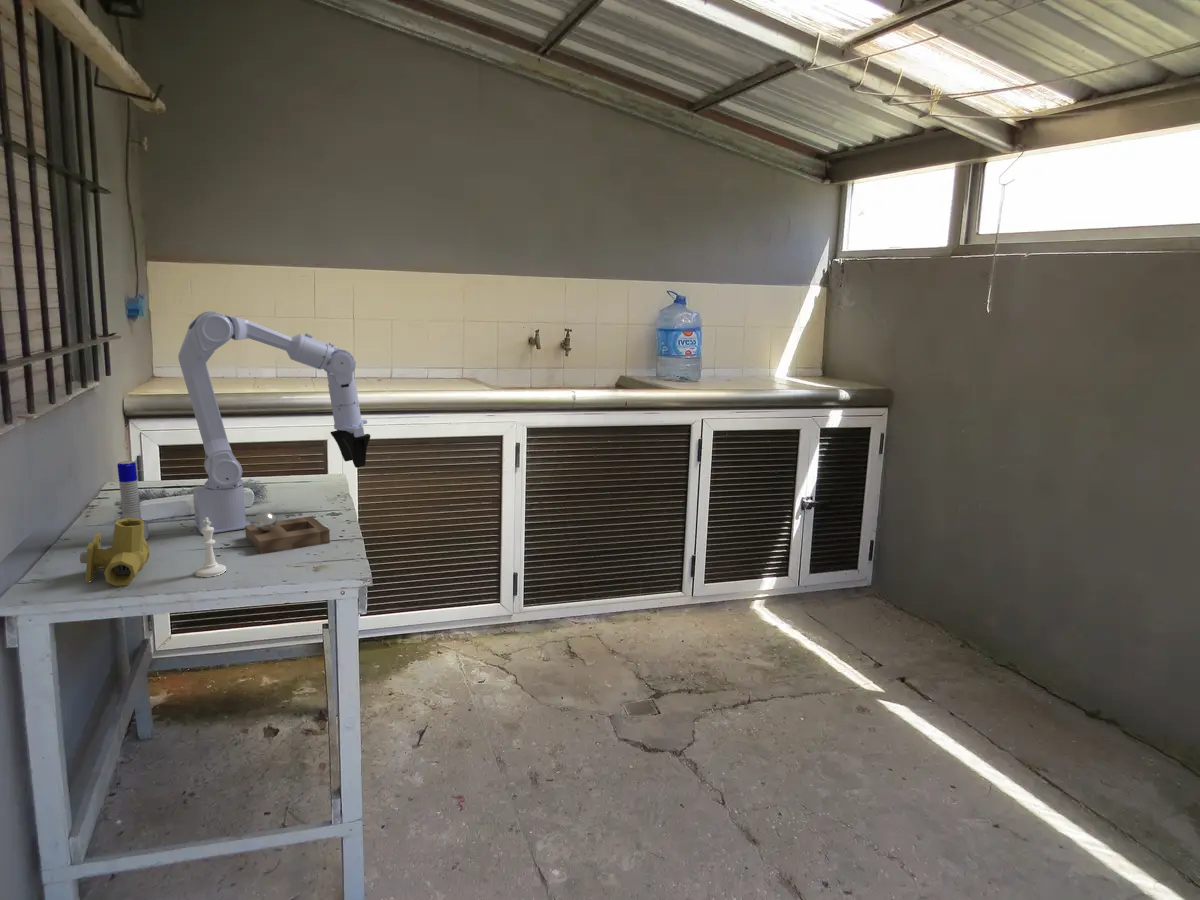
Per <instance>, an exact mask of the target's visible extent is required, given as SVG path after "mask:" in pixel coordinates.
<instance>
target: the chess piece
mask: <svg viewBox="0 0 1200 900" xmlns="http://www.w3.org/2000/svg"><path fill="white" fill-rule="evenodd" d="M203 523H204V524H205V526H206V527H204V528H202V529H201V531H202V533H203V534H202V535H203V537H204V540H203V541H202V542H201V544H202V545H204V546H205V560H204V563H203V564H202V566H200V567H198V568H196V570H195V575H196V574H197V575H198V576H204V577H207V578H210V577H209V576H215V577H217V576H216V575H219V576H221V575H220V574H222V573H224V572H225V571H226V570H227V567H226V566H225V565H224V564H220V563H218V562H217V561H216V558H215V554H214V548H213V544H215V543H216V540H215V539H213V535H214V533H213V531H214V528H213V527H209V525H210V524H211V522H210V521H209V518H208V517H206V518H205V520H204V521H203ZM226 572H227V571H226ZM224 574H225V573H224ZM222 575H223V574H222ZM198 576H197V577H198Z"/></svg>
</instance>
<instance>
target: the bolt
mask: <svg viewBox="0 0 1200 900" xmlns="http://www.w3.org/2000/svg"><path fill="white" fill-rule="evenodd" d="M137 473H138V472H137V464H136V461H134V460H124V461H123V460H122V461H119V462H118V463H117V475H118V484H119V485H118V486H119V493H120V495H119V496H120V500H121V501H120V502H121V504H120V505H121V511H122V513H121V514H122V519H125V518H134V519H140V520H142V511H141V505H140V503H141V501H140V495H139V494H140V492H139V490H138V489H139V485H138V484H139V483H138V482H139V481H138V474H137ZM143 538H144V539H145V541H147V540H148V539H149V527H148V522H147V521H144V537H143Z"/></svg>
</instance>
